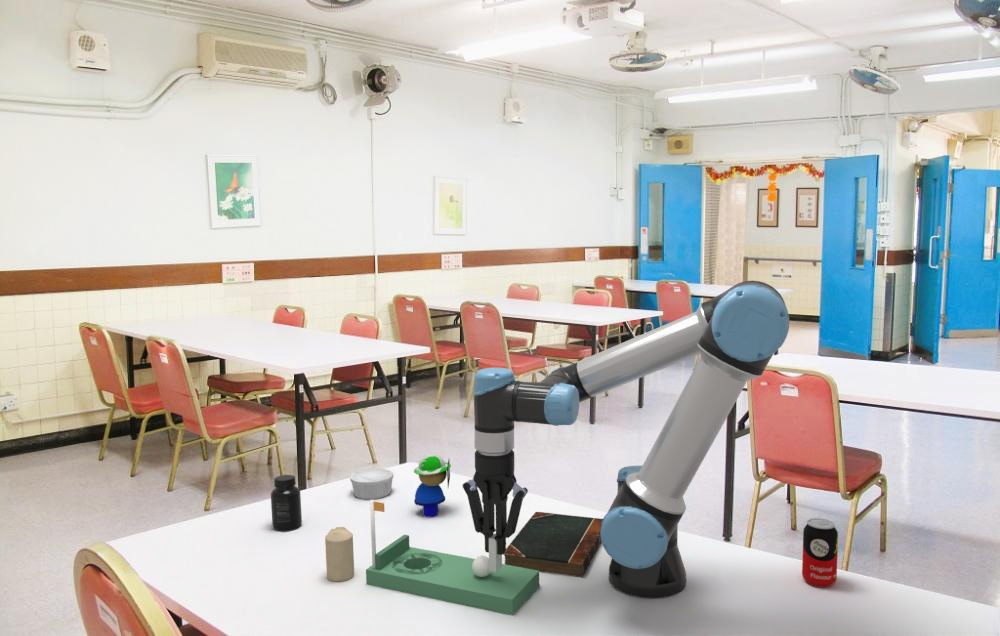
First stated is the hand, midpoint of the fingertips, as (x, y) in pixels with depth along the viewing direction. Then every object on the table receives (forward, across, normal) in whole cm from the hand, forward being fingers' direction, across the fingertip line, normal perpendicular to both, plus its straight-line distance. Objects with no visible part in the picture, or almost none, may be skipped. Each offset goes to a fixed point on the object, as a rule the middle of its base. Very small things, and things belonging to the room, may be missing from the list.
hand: (495, 568), depth 154 cm
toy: (+6, +32, -33) cm, 46 cm away
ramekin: (+6, +54, -39) cm, 67 cm away
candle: (+6, +33, +5) cm, 34 cm away
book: (+6, -3, -25) cm, 26 cm away
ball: (0, +3, 0) cm, 3 cm away
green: (+5, +10, 0) cm, 11 cm away
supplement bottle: (+6, +60, -12) cm, 62 cm away
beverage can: (+5, -56, -29) cm, 64 cm away
